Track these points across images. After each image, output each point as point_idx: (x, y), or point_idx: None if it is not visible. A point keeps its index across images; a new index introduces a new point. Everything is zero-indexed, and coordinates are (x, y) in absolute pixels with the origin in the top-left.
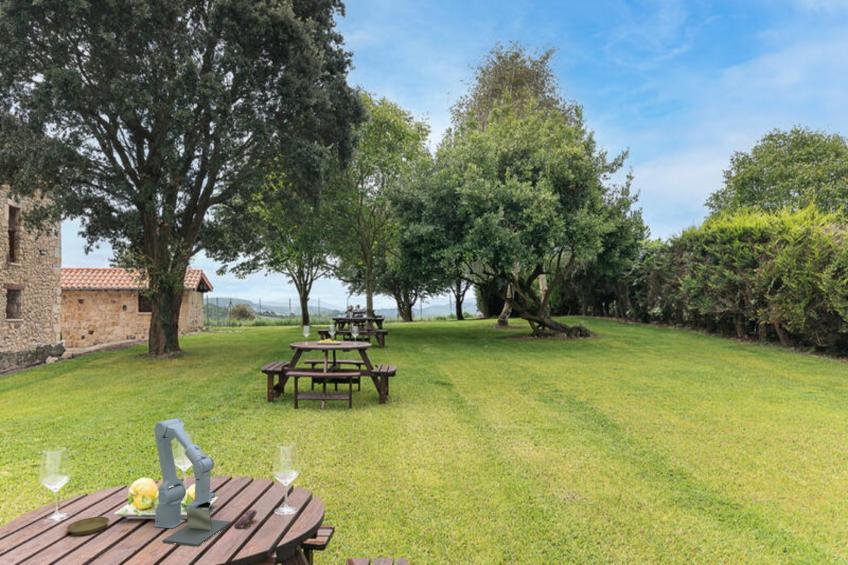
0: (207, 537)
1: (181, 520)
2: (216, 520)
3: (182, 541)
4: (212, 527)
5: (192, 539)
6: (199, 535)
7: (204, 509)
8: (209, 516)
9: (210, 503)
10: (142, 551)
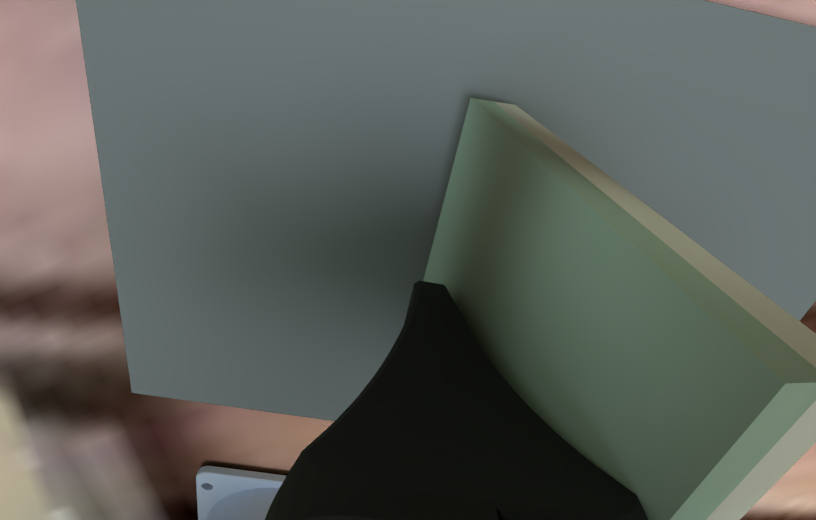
0: (772, 27)
1: (214, 492)
2: (114, 170)
3: (788, 306)
4: (371, 119)
5: (767, 221)
6: (652, 186)
7: (786, 469)
8: (616, 209)
9: (318, 500)
10: (804, 498)
